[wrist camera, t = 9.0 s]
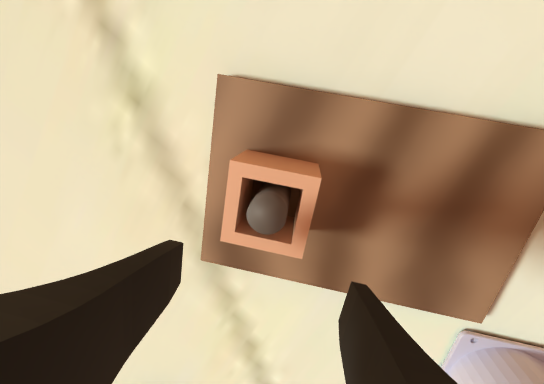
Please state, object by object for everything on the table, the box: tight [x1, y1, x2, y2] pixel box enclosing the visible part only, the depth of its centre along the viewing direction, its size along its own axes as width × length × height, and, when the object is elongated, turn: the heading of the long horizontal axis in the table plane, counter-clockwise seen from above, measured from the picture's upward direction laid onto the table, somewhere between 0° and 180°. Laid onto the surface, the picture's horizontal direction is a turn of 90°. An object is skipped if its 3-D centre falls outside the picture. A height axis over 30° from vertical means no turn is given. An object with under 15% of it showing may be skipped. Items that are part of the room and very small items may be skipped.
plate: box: [201, 74, 544, 324], centre depth 16 cm, size 22×14×6 cm, turn 81°
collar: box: [220, 150, 322, 259], centre depth 16 cm, size 5×5×4 cm
